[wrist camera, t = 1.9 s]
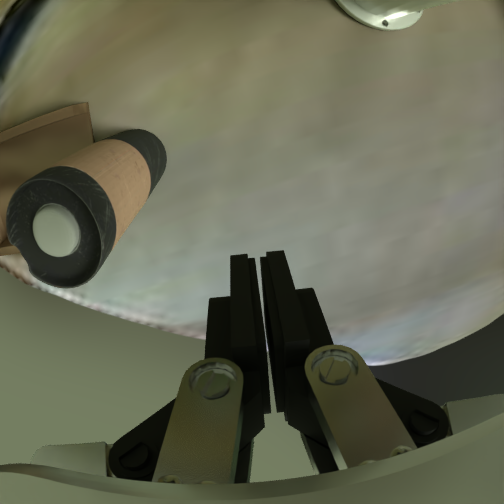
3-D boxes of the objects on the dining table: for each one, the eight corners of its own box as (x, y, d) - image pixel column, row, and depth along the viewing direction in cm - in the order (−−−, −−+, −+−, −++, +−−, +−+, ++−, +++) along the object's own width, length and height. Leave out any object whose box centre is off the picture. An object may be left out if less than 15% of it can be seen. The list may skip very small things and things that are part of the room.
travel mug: (178, 137, 32) (115, 196, 15) (159, 198, 36) (98, 305, 18) (116, 119, 31) (6, 162, 13) (101, 180, 34) (5, 269, 17)
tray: (-22, 144, 29) (-39, 152, 26) (88, 102, 29) (72, 105, 26) (6, 243, 37) (-7, 257, 33) (113, 227, 37) (103, 241, 34)
